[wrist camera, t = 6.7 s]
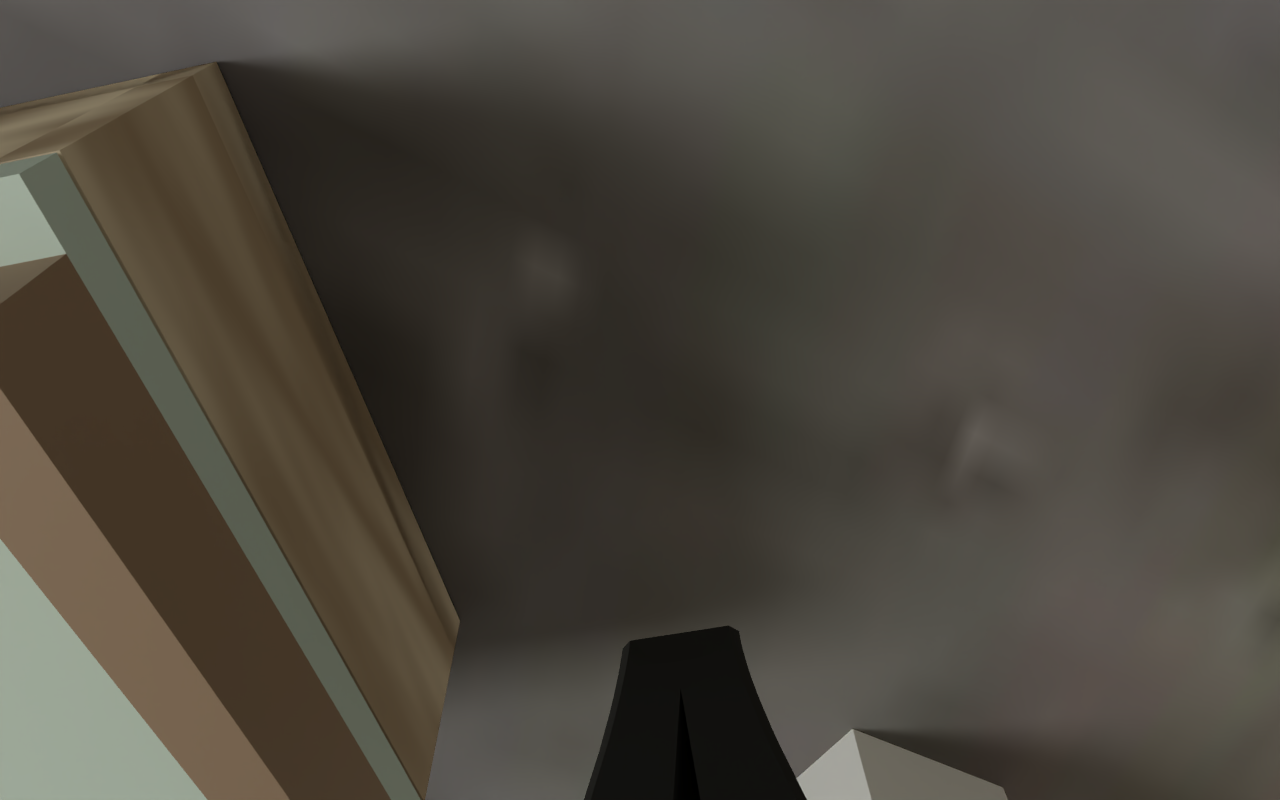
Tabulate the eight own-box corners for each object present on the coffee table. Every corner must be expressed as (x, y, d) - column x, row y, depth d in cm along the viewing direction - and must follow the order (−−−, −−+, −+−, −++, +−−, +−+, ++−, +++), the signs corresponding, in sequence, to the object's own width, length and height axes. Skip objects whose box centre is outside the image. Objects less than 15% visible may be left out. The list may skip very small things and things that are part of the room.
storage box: (215, 61, 15) (59, 150, 11) (459, 621, 22) (424, 801, 18) (-404, 193, 16) (-770, 323, 12) (29, 687, 23) (-98, 873, 19)
